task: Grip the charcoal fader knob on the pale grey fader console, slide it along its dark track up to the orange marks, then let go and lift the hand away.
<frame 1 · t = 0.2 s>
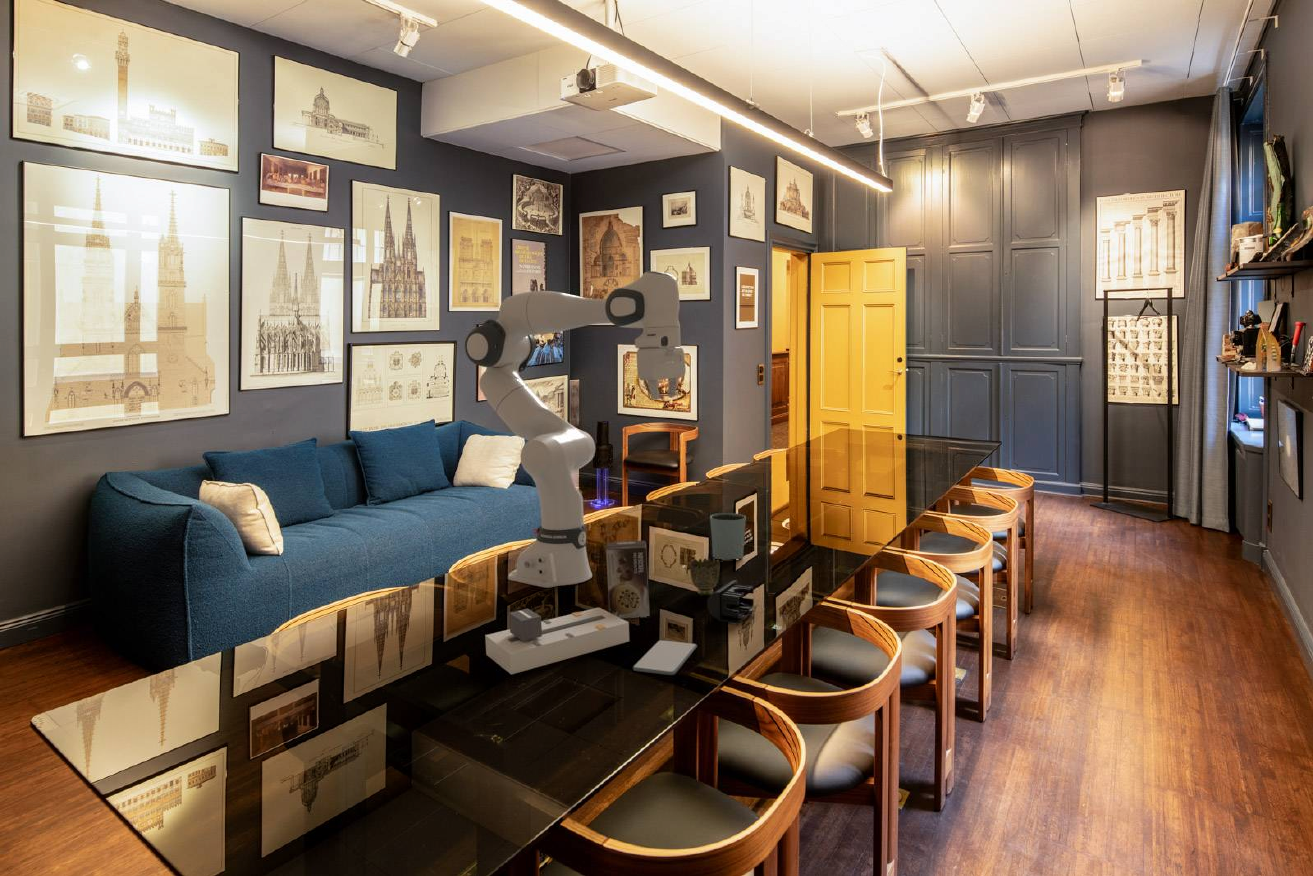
hand: (663, 398, 183), 48 cm above the table, tool pointing down, fingers open, 8 cm apart
end cap: (731, 616, 169), on the table
smartphone: (666, 660, 147), on the table
coffee box: (629, 614, 172), on the table
fader knob: (525, 624, 149), point 7 cm above the table, slide at -7.0 cm
blue plant pot: (728, 558, 217), on the table
fader console: (558, 647, 153), on the table
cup: (705, 595, 185), on the table
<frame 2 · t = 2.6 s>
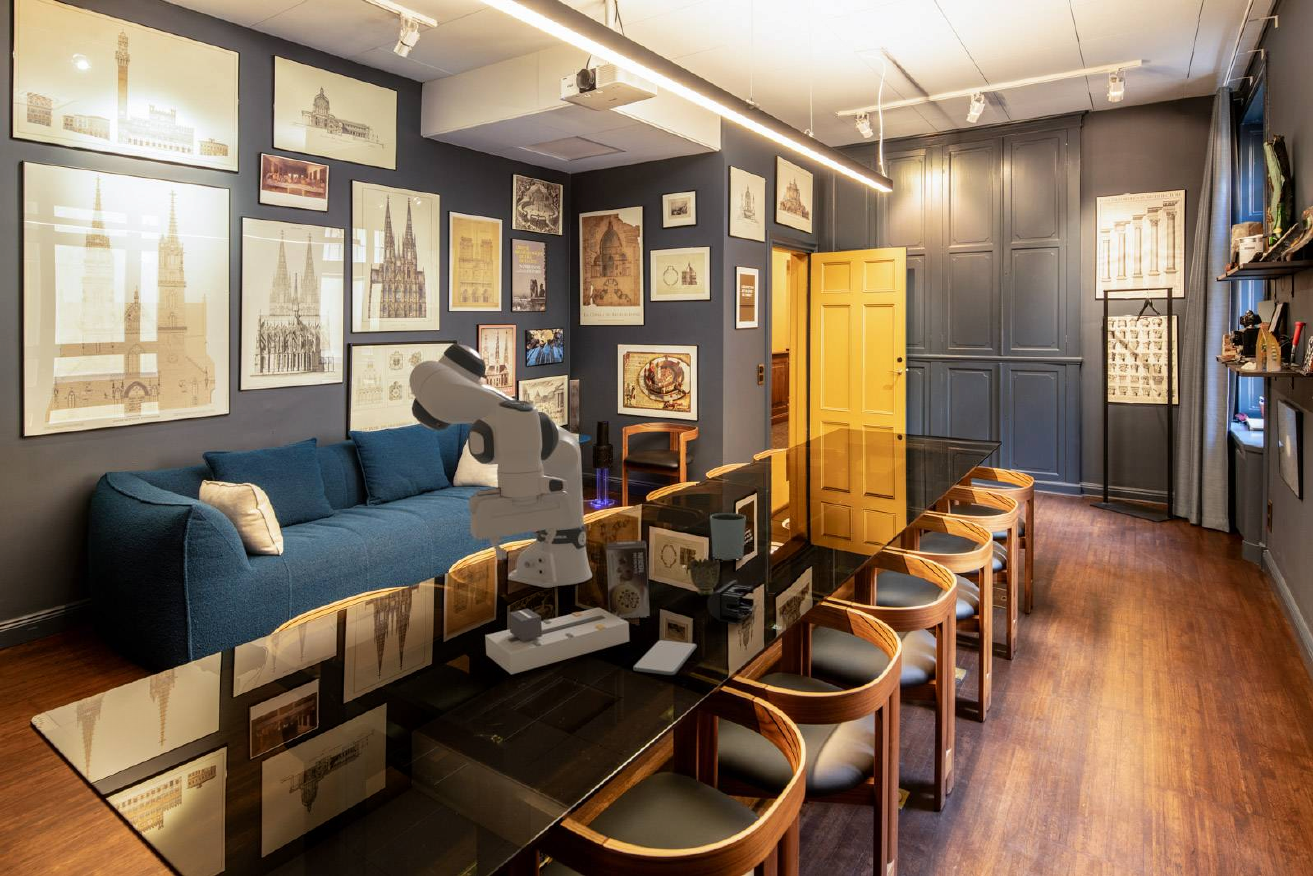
hand: (524, 554, 148), 20 cm above the table, tool pointing down, fingers open, 8 cm apart
nothing on the table moved.
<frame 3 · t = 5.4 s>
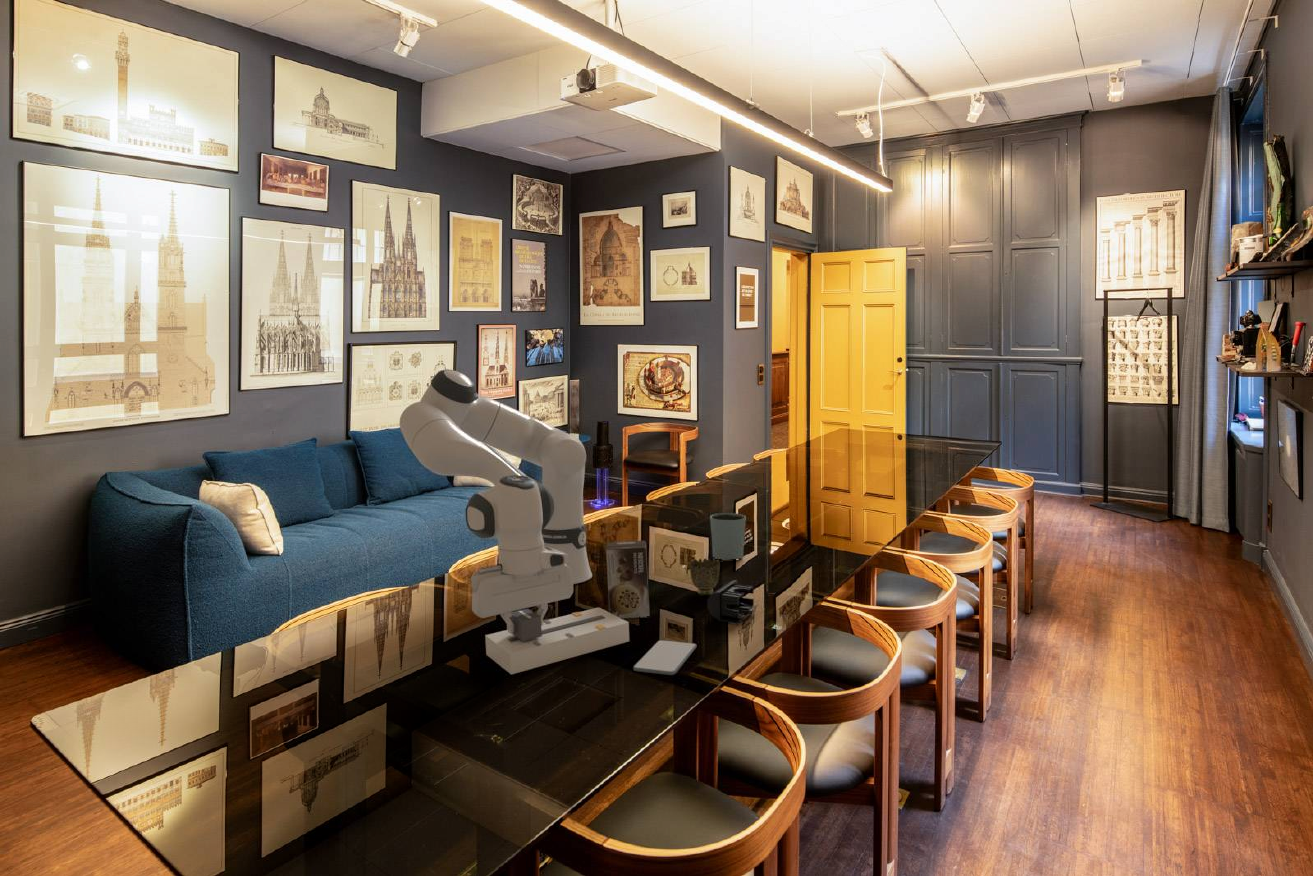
hand: (525, 629, 149), 6 cm above the table, tool pointing down, fingers closed on fader knob, 4 cm apart
fader knob: (525, 624, 149), point 7 cm above the table, slide at -7.0 cm, touching gripper
everything else where it was.
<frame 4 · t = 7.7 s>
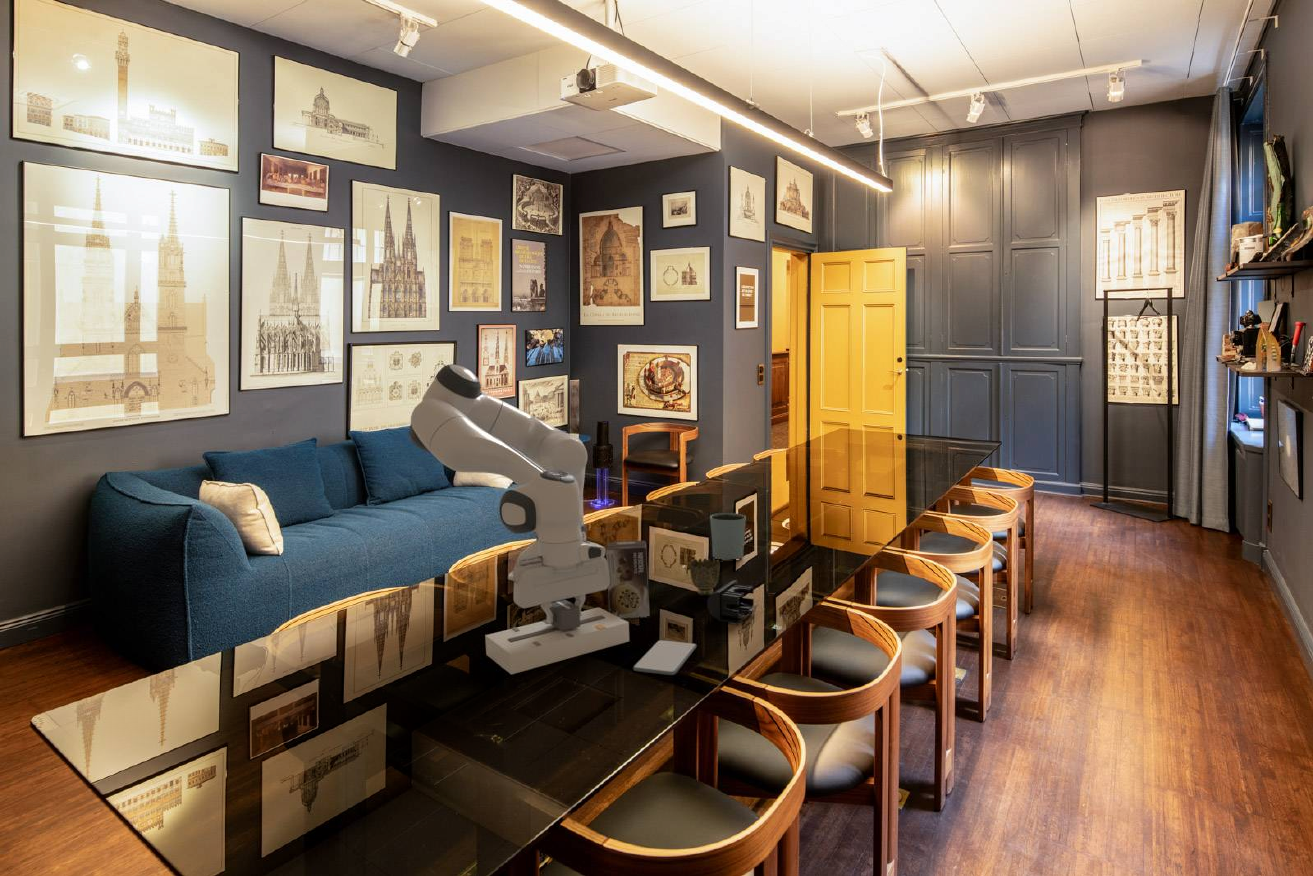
hand: (564, 619, 154), 6 cm above the table, tool pointing down, fingers closed on fader knob, 4 cm apart
fader knob: (563, 614, 153), point 7 cm above the table, slide at 1.5 cm, touching gripper
everything else where it was.
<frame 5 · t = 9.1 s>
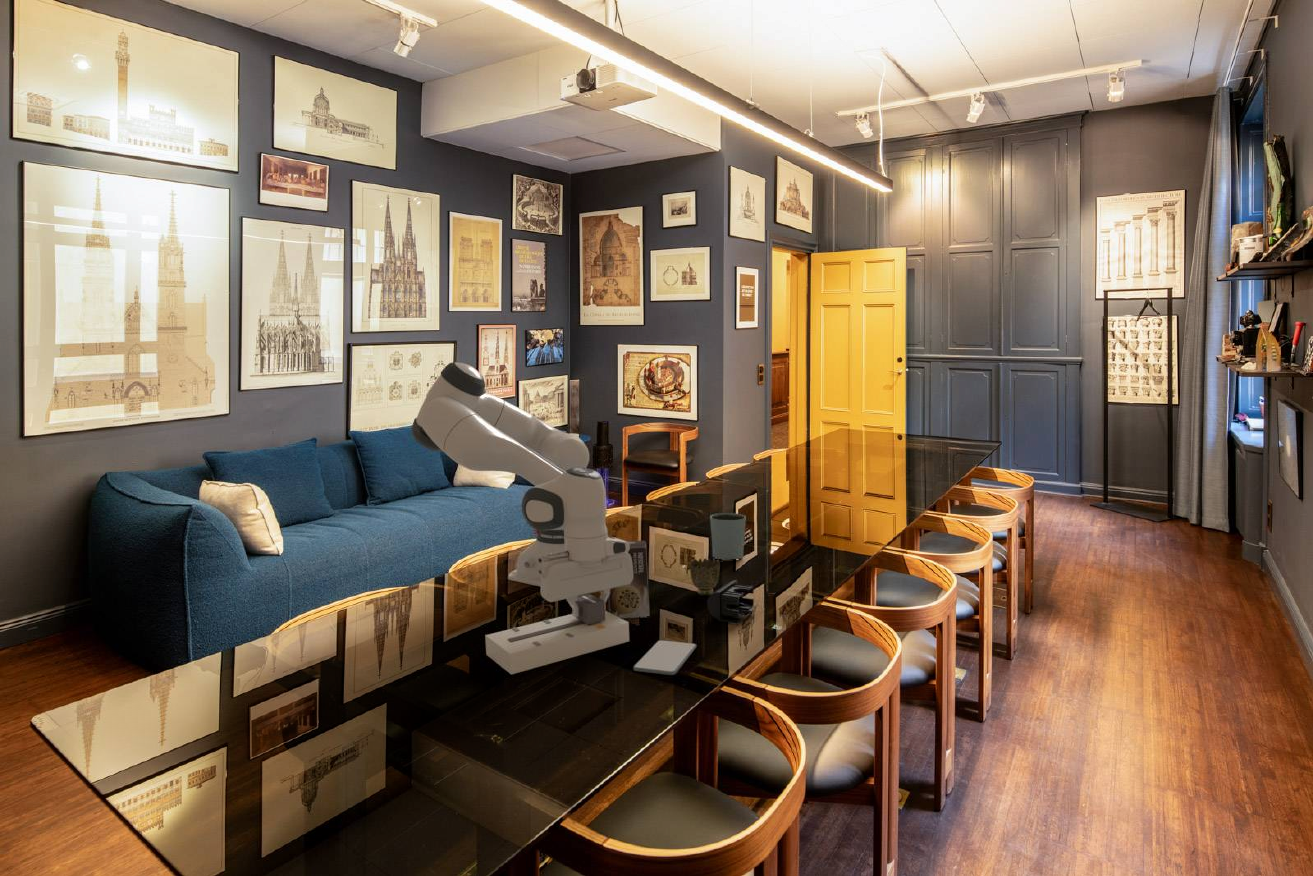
hand: (589, 613, 157), 6 cm above the table, tool pointing down, fingers closed on fader knob, 4 cm apart
fader knob: (589, 608, 157), point 7 cm above the table, slide at 7.3 cm, touching gripper
everything else where it was.
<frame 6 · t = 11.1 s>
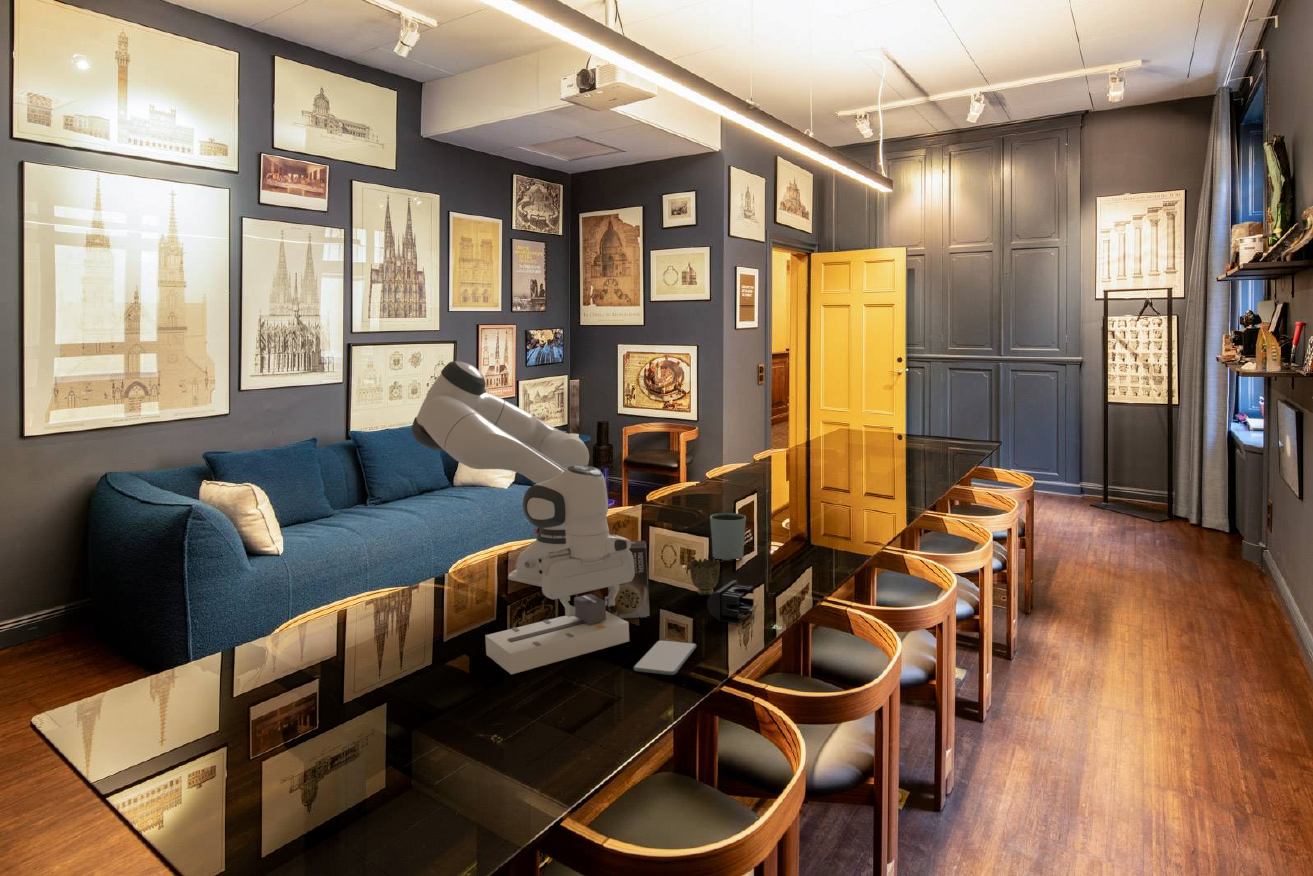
hand: (590, 610, 157), 6 cm above the table, tool pointing down, fingers open, 8 cm apart
fader knob: (589, 608, 157), point 7 cm above the table, slide at 7.5 cm
everything else where it was.
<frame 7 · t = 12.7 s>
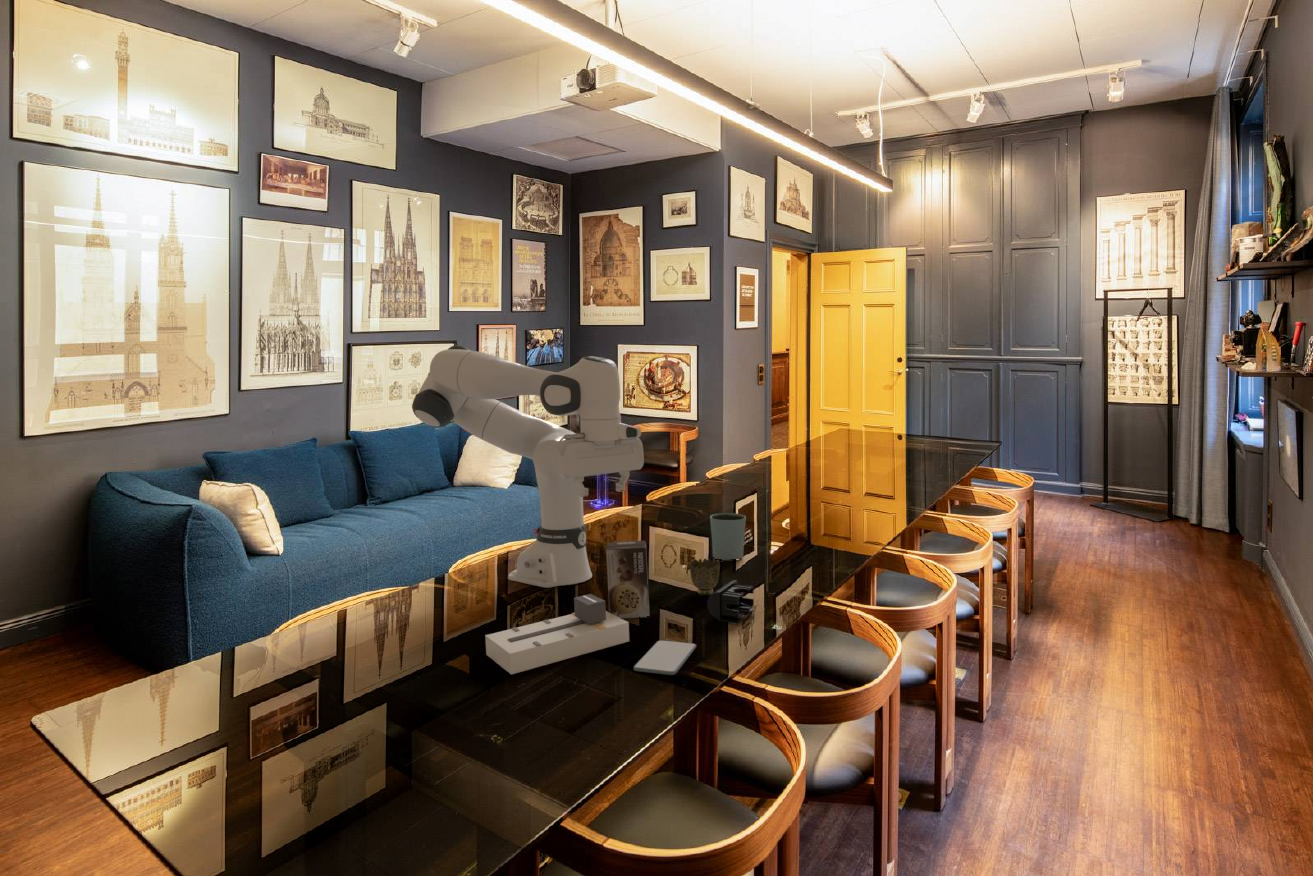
hand: (602, 493, 167), 28 cm above the table, tool pointing down, fingers open, 8 cm apart
nothing on the table moved.
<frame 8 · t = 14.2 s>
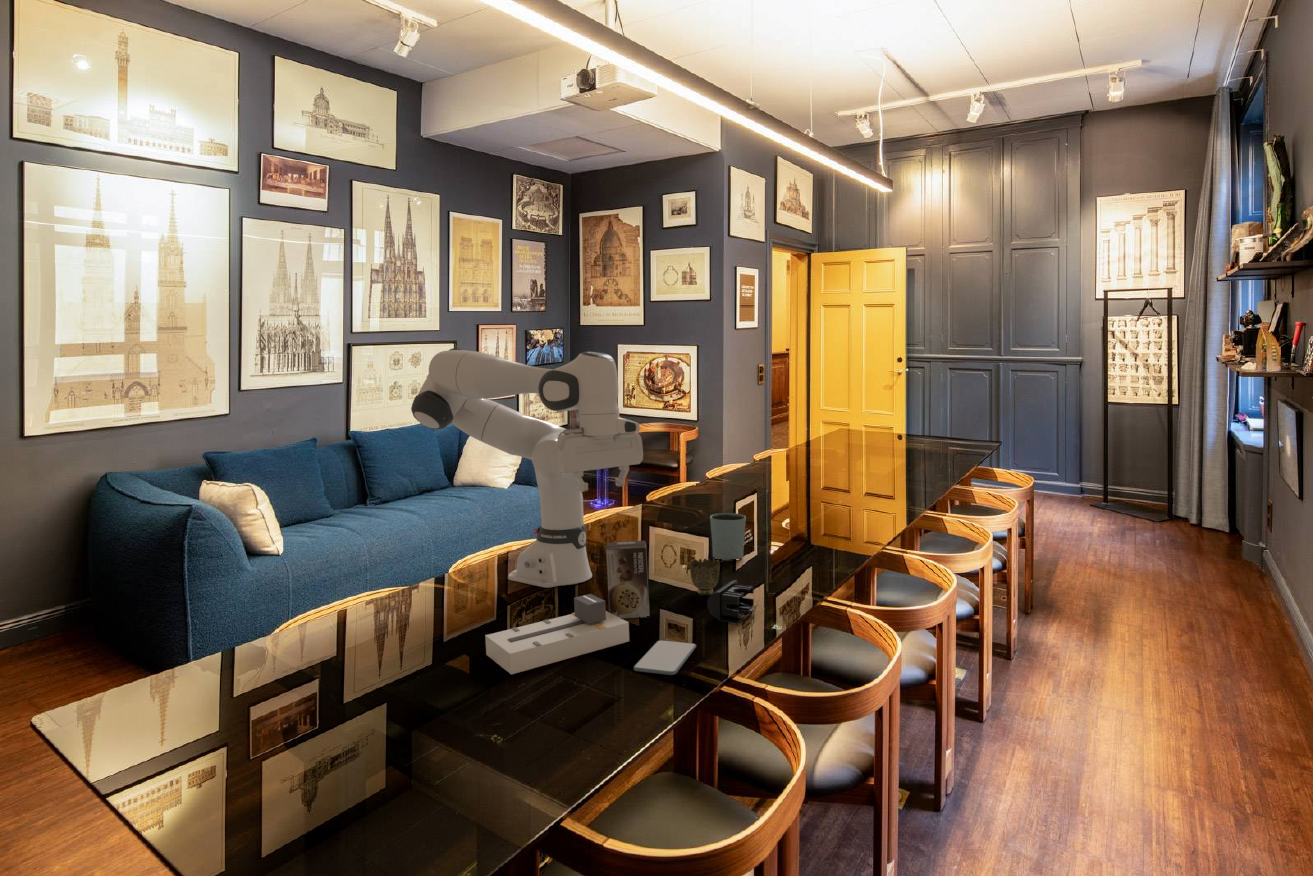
hand: (602, 488, 168), 29 cm above the table, tool pointing down, fingers open, 8 cm apart
nothing on the table moved.
at the end: fader knob slide at 7.5 cm; the gripper is holding nothing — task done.
